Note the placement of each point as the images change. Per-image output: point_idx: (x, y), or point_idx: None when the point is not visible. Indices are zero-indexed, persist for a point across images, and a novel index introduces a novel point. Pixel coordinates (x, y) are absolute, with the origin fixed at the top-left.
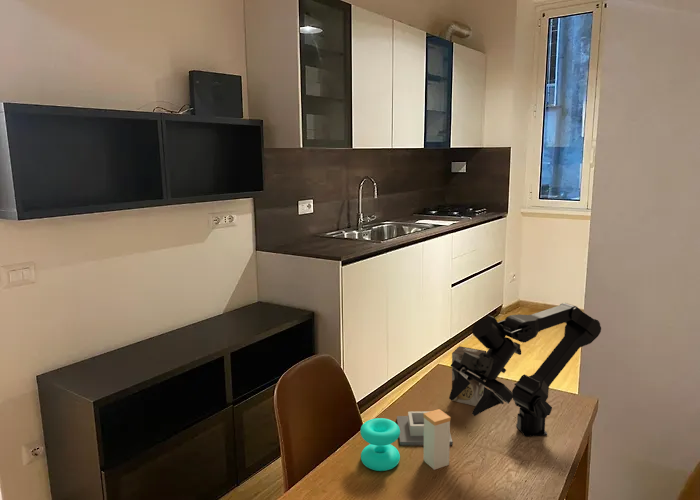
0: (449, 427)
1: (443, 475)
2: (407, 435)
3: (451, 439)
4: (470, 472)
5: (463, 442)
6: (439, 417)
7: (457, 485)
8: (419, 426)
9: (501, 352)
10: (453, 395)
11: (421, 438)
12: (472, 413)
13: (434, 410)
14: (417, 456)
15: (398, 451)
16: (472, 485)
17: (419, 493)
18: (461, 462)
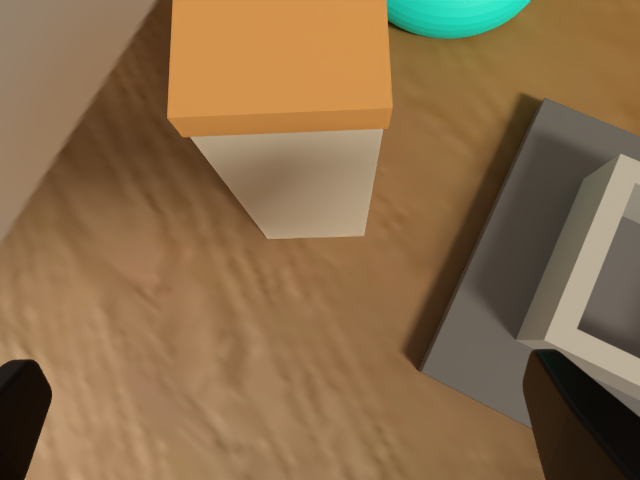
0: (206, 155)
1: (208, 163)
2: (595, 166)
3: (446, 381)
4: (159, 296)
5: (415, 452)
6: (226, 13)
7: (114, 177)
8: (595, 208)
9: None
10: (555, 424)
11: (532, 222)
12: (18, 361)
13: (385, 45)
14: (405, 136)
15: (428, 13)
16: (76, 239)
17: (158, 8)
18: (252, 309)
